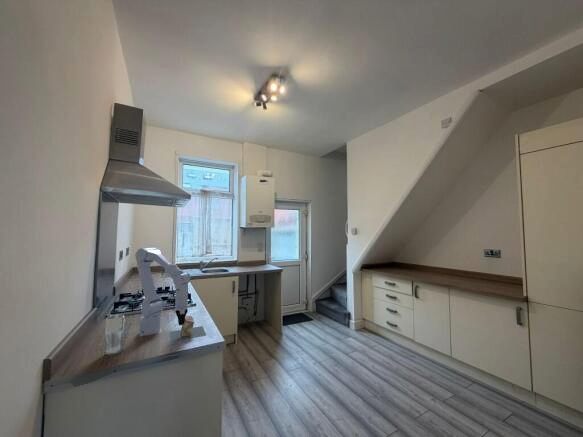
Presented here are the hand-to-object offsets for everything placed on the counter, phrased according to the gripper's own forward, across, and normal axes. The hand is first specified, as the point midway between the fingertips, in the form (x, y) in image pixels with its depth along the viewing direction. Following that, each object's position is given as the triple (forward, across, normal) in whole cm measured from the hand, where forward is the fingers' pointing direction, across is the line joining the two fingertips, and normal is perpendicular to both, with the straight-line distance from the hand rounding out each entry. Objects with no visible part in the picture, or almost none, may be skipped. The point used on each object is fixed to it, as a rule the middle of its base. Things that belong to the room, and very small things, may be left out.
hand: (181, 324), depth 123 cm
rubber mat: (+5, 0, -3) cm, 6 cm away
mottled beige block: (+4, 0, -2) cm, 5 cm away
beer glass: (+6, -4, +27) cm, 28 cm away
